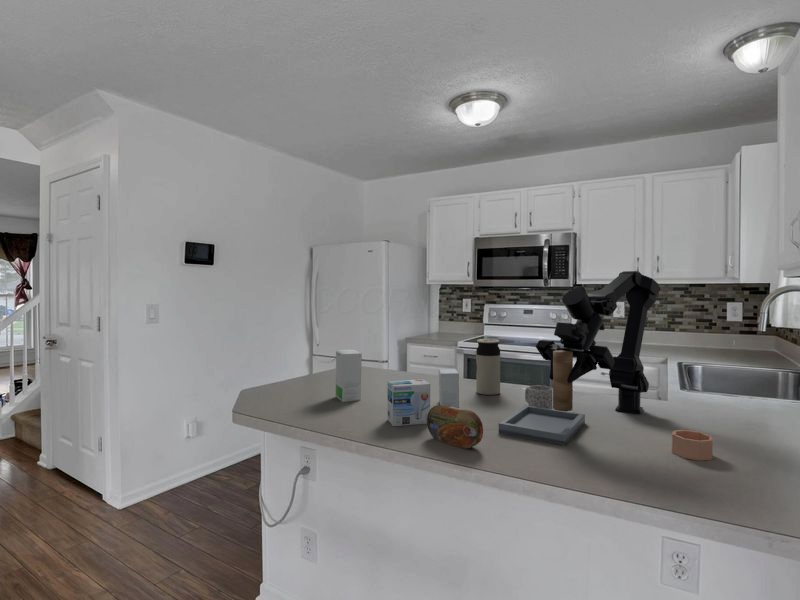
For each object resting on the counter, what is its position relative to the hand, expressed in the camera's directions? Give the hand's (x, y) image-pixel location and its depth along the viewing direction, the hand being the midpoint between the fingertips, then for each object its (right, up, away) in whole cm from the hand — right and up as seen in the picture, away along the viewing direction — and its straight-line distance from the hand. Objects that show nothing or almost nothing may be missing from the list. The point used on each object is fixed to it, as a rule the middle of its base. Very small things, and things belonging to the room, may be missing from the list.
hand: (559, 380), depth 109 cm
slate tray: (-2, -13, +6) cm, 15 cm away
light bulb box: (-36, -14, +13) cm, 41 cm away
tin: (-26, -14, -4) cm, 30 cm away
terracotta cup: (+24, -14, -12) cm, 30 cm away
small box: (-24, -13, +30) cm, 40 cm away
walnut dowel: (+1, -7, +1) cm, 7 cm away
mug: (+2, -13, +24) cm, 28 cm away
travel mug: (-8, -12, +45) cm, 47 cm away
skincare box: (-55, -13, +38) cm, 68 cm away
